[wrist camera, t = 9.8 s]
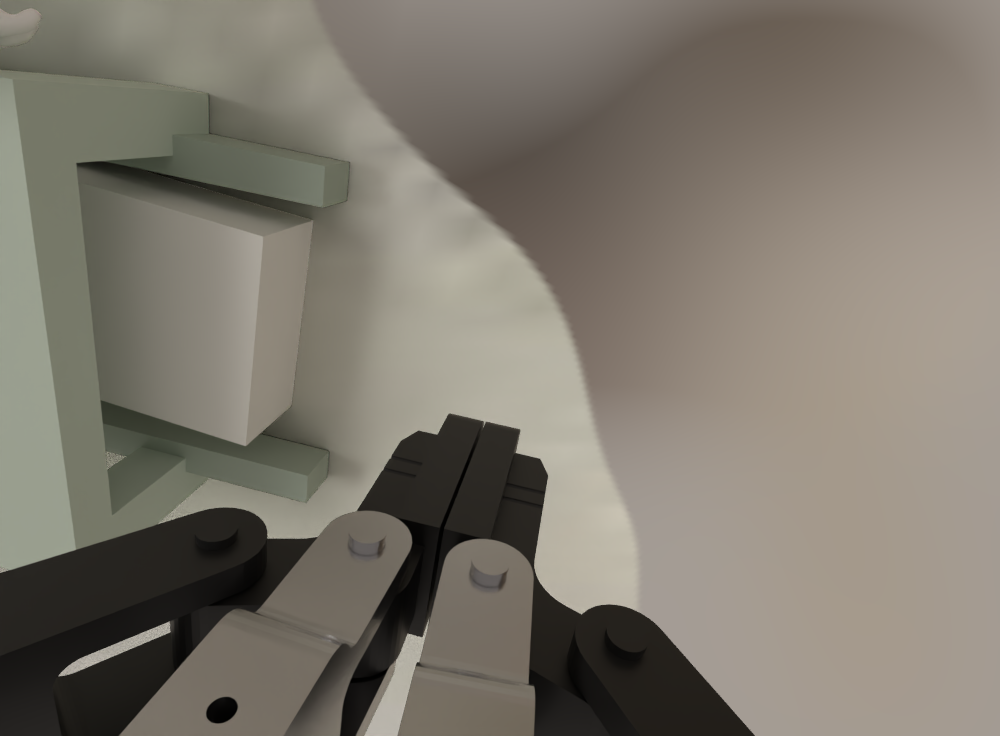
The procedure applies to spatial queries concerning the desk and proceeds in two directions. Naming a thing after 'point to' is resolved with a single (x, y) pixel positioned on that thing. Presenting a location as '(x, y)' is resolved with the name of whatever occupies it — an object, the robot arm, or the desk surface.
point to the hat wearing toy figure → (18, 27)
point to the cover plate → (192, 300)
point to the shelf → (68, 320)
